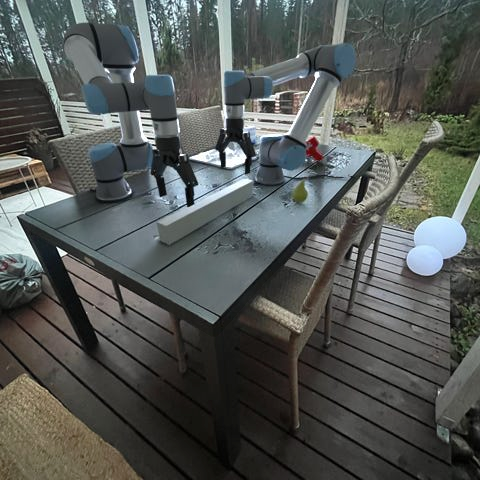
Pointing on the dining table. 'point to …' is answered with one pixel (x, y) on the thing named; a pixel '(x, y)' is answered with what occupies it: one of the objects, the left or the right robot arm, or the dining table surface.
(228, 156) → the relief map
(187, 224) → the bar
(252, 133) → the ink box
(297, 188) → the fruit
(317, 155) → the toy gun
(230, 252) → the dining table surface
